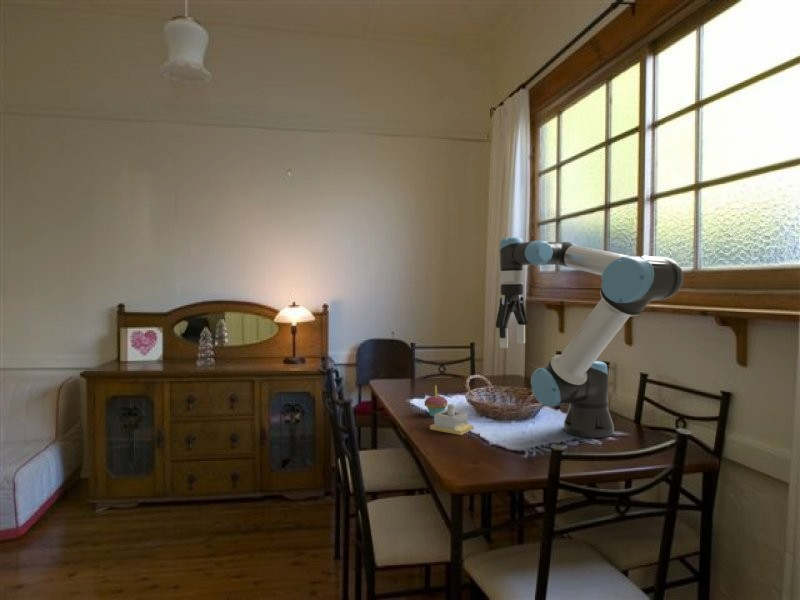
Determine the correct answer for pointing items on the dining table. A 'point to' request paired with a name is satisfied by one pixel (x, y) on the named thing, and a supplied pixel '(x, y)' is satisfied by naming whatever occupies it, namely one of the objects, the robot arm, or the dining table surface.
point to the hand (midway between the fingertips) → (512, 345)
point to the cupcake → (435, 403)
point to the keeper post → (459, 431)
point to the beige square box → (450, 420)
